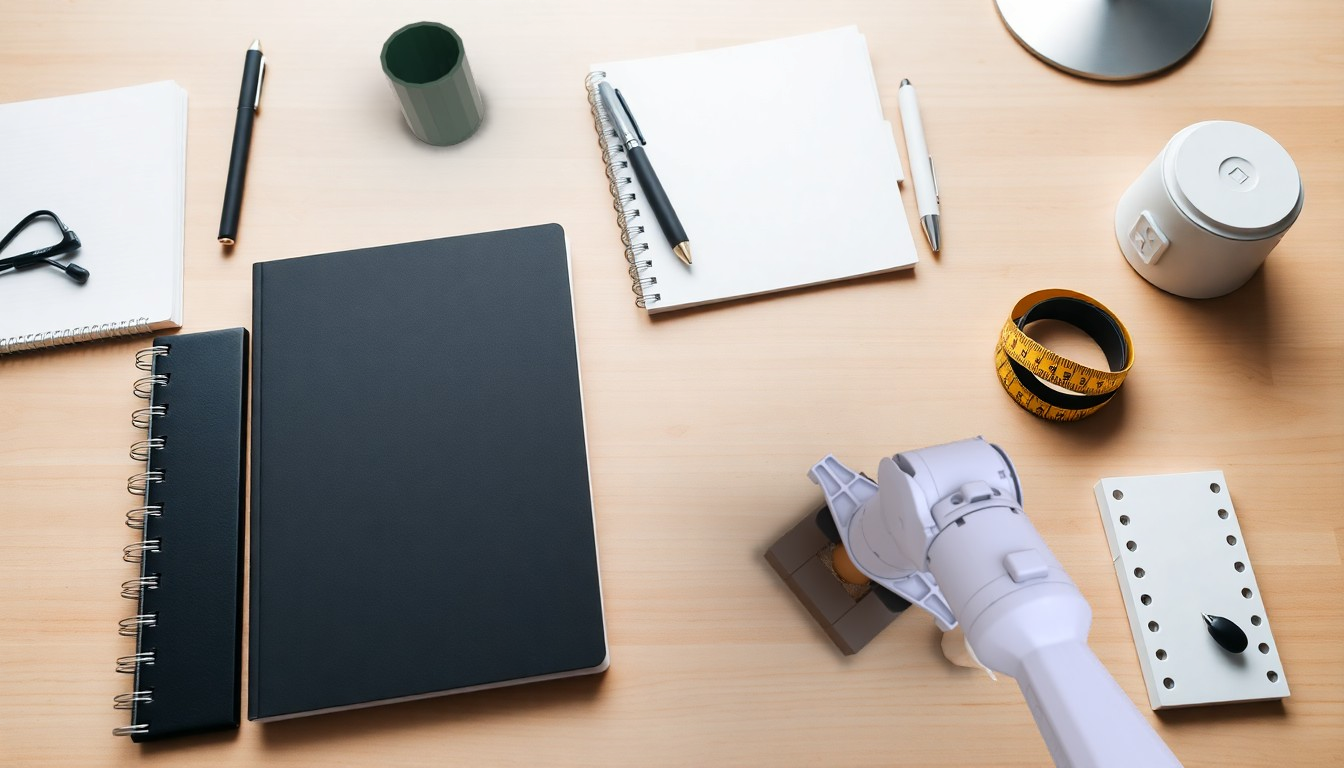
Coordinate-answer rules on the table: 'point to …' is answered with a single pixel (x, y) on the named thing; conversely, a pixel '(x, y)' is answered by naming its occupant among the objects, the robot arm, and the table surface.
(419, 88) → the coffee cup
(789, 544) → the pod dock
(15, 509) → the table surface
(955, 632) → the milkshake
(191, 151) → the table surface
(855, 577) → the orange cylinder
